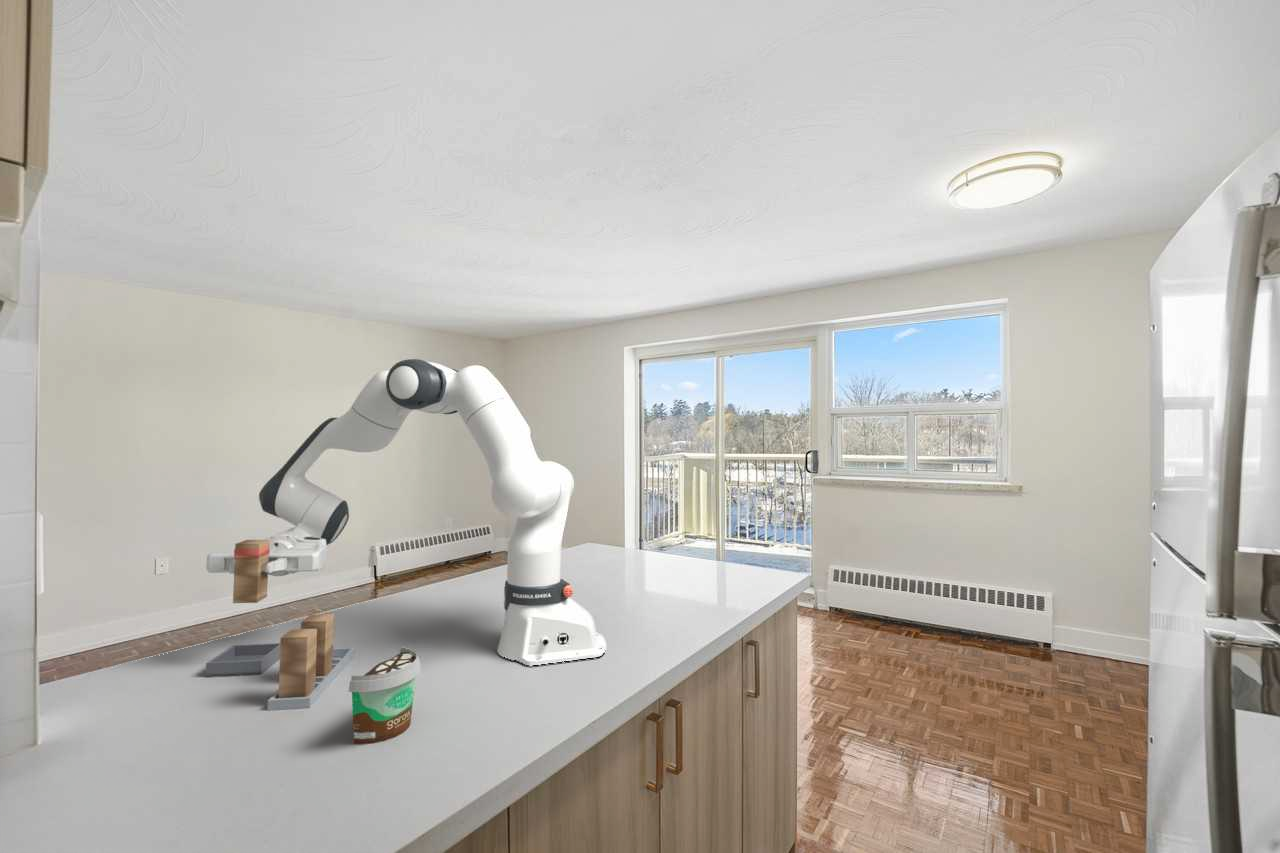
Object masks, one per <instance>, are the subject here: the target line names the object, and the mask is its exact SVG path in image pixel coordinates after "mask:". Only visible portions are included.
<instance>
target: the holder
mask: <svg viewBox="0 0 1280 853" xmlns="http://www.w3.org/2000/svg"><path fill="white" fill-rule="evenodd" d="M355 653H356V647H337V648H335V647H333V664H332V670H331V671H330V672H329V674H328V675H327V676H319V677H315V689H314V690H313V691H312V692H311V694H310V695H309V696H308V697H295V698H278V697H279V689H278V690H277V691H276V692H275V693H274V694H273V695H272V696H271V697H270V698H269V699H268V700H267V707H266V708H267V711H274V710H276V711H278V710H293V709H309V708H311V707H312V706H313V705H314V704H315V702H316V701H317V700H318V699H319V698H320V697H321V695H323V693H324V692H325V690H326V689H327V688H329V686H330V685H331V684H332V682H334V680H335V679H336V678H337V676H338V675H339V674H340V673H341V672H342V671H343V669H344V668H345V667H346V666H347V665H348V664H349V663H350V661H351V660H352V659H353V658H354V656H355V655H356V654H355ZM341 657H342V658H341Z"/></svg>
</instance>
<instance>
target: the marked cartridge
mask: <svg viewBox="0 0 1280 853" xmlns="http://www.w3.org/2000/svg"><path fill="white" fill-rule="evenodd" d="M234 548H235V549H234V558H235V565H234V574H233V591H232V592H233V595H232V604H257V603H259V602H260V601H263V600H264V599H267V597H268V583H269V582H268V580H269V578H268V577H269V574H268V573H261V565H262V564H263V563H265V562H268V559H269V553H270V545H269V540H265V539H245V540H242V541H239V542H237V543H235V546H234Z"/></svg>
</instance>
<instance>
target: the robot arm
mask: <svg viewBox="0 0 1280 853" xmlns="http://www.w3.org/2000/svg"><path fill="white" fill-rule="evenodd" d="M412 411H419V412H424V413H428V414H435V415H436V414H437V415H439V414H440V415H441V414H442V415H452V414H456V413H458V414H459V415H460V417H461V419H462V420H463V422H464V424H465V426H466V428H467V429H468V431H469V432H470V434H471V436H472V437H473V440H474V441H475V442H476V444H477V446H478V448H479V449H480V451H481V452H482V455H483V457H484V459H485V461H486V464H487V467H488V471H489V473H490V474H489V475H490V476H491V481H492V485H491V489H490V490H491V495H490V496H491V499H492V502H493V504H494V506H495V508H496V509H497V510H498V511H499V512H500V513H501V514H502V515H505V516H507V517H512V518H516V523H515V526H514V529H513V531H512V535H511V536H510V539H509V540H508V544H507V565H506V566H507V567H506V568H507V570H506V571H507V572H506V576H507V577H506V581H505V582H504V587H503V606H504V607H503V608H504V618H503V619H504V620H503V624H502V625H503V626H502V629H501V636H500V639H499V641H498V642H499V643H498V646H497V649H496V651H497V652H496V653H497V654H498V655H499V656H501V657H502V658H504V657H505V658H504V659H507V658H508V659H507V660H510V659H511V661H514V660H517V661H516V662H518V661H519V663H521V662H522V663H523V664H522V663H521V664H522V665H524V664H525V665H524V666H526V665H529V666H528V667H534V666H533V665H539V666H542V665H541V664H546V665H549V664H548V663H554V664H557V663H556V662H562V661H563V662H562V663H565V662H564V661H570V662H572V661H571V660H577V659H585V658H592V657H598V656H601V655H602V654H603V653H604V652H605V650H606V651H607V642H606V639H605V637H604V636H603V635H602V634H601V633H599V632H597V627H596V624H595V621H594V618H593V615H592V613H591V612H589V611H588V610H587V609H586V608H585V607H583V606H582V605H580V604H579V603H578V602H576V601H575V600H574V599H573V598H572V596H574V589H573V586H571V584H570V583H569V582H568V581H567V579H563V578H561V577H562V576H561V574H562V573H561V572H562V544H563V537H564V530H565V526H566V521H567V516H568V511H569V505H570V501H571V497H572V495H573V494H574V489H575V481H574V477H573V474H572V473H571V472H570V470H569V469H568V468H567V467H565V466H564V465H562V464H560V463H557V462H555V461H551V460H545V461H542V460H541V459H540V458H539V457H538V455H537V452H536V449H535V447H534V445H533V441H532V437H531V428H530V427H529V424H528V423H527V421H526V420H525V418H524V416H523V415H522V414H521V412H520V410H519V409H518V407H517V406H516V404H515V403H514V401H513V399H512V398H511V396H510V395H509V393H508V392H507V390H506V389H505V388H504V386H503V385H502V384H501V382H500V381H499V380H498V379H497V378H496V376H494V375H493V373H492V372H490V370H488V368H486V367H484V366H482V365H478V364H477V365H476V364H475V365H474V364H473V365H468V366H465V367H464V368H461V369H459V370H457V369H454V368H450V367H448V366H445V365H443V364H440V363H438V362H431V361H428V360H426V361H425V360H422V359H417V358H411V359H403V360H401V361H399V362H396V363H394V365H392V367H391V368H390V369H383V370H380V371H378V372H376V373H375V374H374V375H373V377H371V378H370V380H369V381H368V382H367V383H366V384H365V386H364V387H363V388H362V389H361V391H360V392H359V394H358V395H357V397H356V398H355V400H354V401H353V403H352V405H351V406H350V408H349V409H348V410H347V411H346V412H345V413H343V415H341V416H340V417H339V416H338V417H329V418H327V419H326V420H325V421H322V422H321V424H319V425H318V427H316V428H315V429H314V431H313V432H312V433H310V435H309V436H308V437H307V438H306V439H305V440H304V442H302V443H301V445H300V446H299V447H298V449H297V450H295V452H294V453H293V454H292V455H291V456H290V458H289V459H288V460H287V461H286V462H285V464H283V466H282V467H281V468H280V469H279V470H277V472H276V473H275V474H273V476H272V477H271V478H270V479H269V480H268V481H267V482H266V483H265V484H264V485H263V486H262V488H261V490H260V491H259V493H258V498H259V503H260V507H261V509H262V511H263V512H265V513H267V514H269V515H272V516H274V517H277V518H280V519H282V520H284V521H286V522H288V523H290V524H292V525H293V526H294V527H291V528H288V529H287V530H285V531H281V532H278V533H275V534H273V535H270V536H268V537H266V538H265V539H264V540H269V545H270V553H269V559H268V562H265V563H263V564H262V565H261V573H268V576H271V577H273V576H274V577H284V576H287V575H290V574H297V573H300V572H318V571H321V570H323V569H326V568H325V567H326V562H327V556H328V555H327V554H328V551H327V549H328V547H327V546H328V545H330V544H332V543H334V542H335V541H336V540H337V538H338V537H339V536H340V535H341V533H342V532H343V531H344V529H345V527H346V525H347V523H348V521H349V519H350V514H349V513H350V512H349V511H350V510H349V504H348V502H347V501H346V500H345V499H343V498H342V497H340V496H337V495H336V494H334V493H332V492H331V491H328V490H326V489H324V488H323V487H320V486H318V485H317V484H315V483H314V482H311V481H309V480H308V479H307V477H306V473H307V472H308V471H309V469H311V467H312V466H313V465H314V464H315V463H316V461H317V460H319V458H320V457H321V456H322V455H323V453H324V452H325V451H326V450H328V449H329V450H330V449H334V450H337V449H338V450H344V451H349V452H355V453H373V452H378V451H380V450H383V449H385V448H387V447H388V446H389V445H390V444H391V443H392V441H393V440H394V438H395V437H396V435H398V432H399V431H400V429H401V427H402V425H403V424H404V422H405V420H406V418H407V417H408V416H409V414H410V413H412ZM234 549H235V547H233V548H225V549H222V550H218V551H214V552H211V553H208V554H207V557H206V565H205V566H206V571H207V572H208V573H210V574H217V573H218V574H219V573H227V574H228V573H229V575H230V574H233V575H234V565H235V558H234ZM605 653H606V652H605Z"/></svg>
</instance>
